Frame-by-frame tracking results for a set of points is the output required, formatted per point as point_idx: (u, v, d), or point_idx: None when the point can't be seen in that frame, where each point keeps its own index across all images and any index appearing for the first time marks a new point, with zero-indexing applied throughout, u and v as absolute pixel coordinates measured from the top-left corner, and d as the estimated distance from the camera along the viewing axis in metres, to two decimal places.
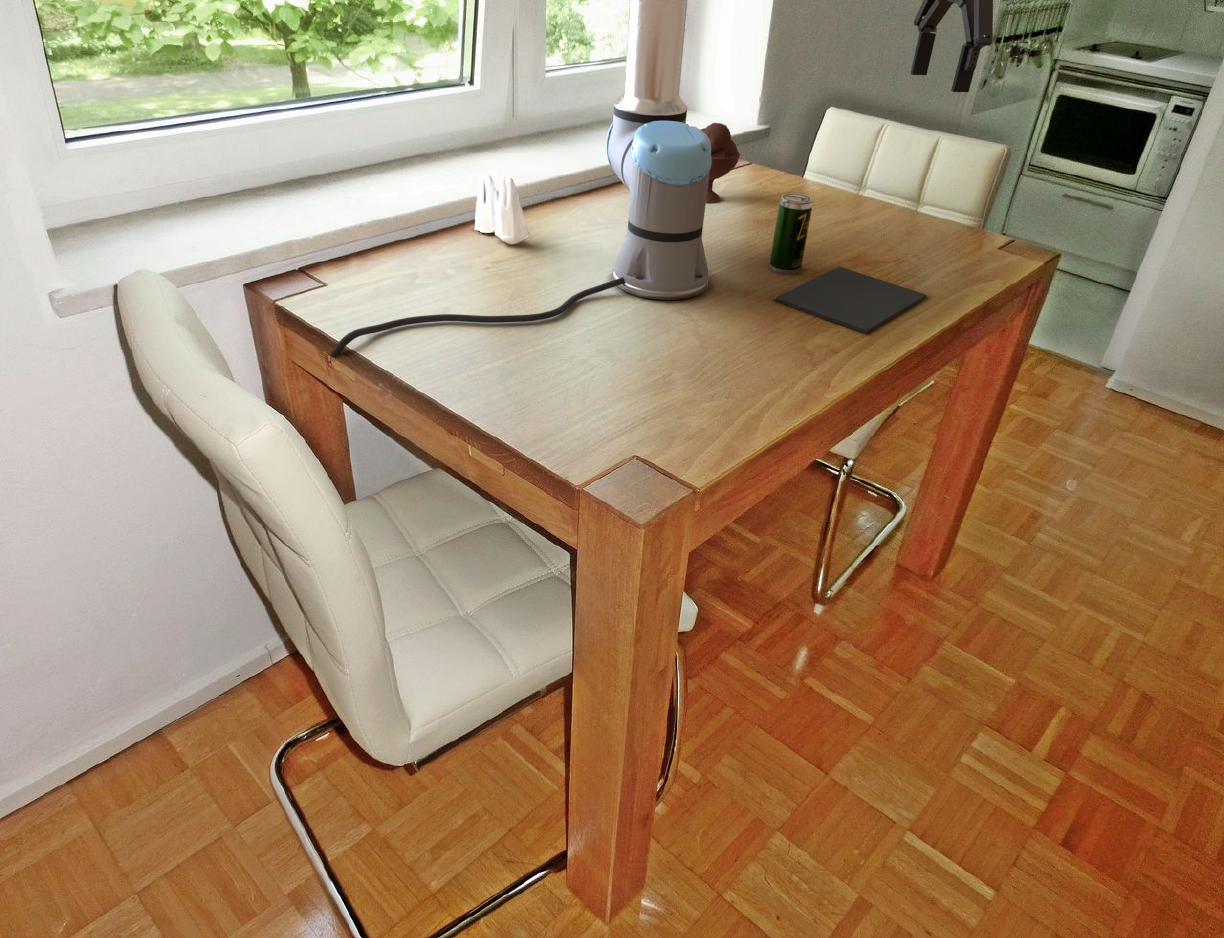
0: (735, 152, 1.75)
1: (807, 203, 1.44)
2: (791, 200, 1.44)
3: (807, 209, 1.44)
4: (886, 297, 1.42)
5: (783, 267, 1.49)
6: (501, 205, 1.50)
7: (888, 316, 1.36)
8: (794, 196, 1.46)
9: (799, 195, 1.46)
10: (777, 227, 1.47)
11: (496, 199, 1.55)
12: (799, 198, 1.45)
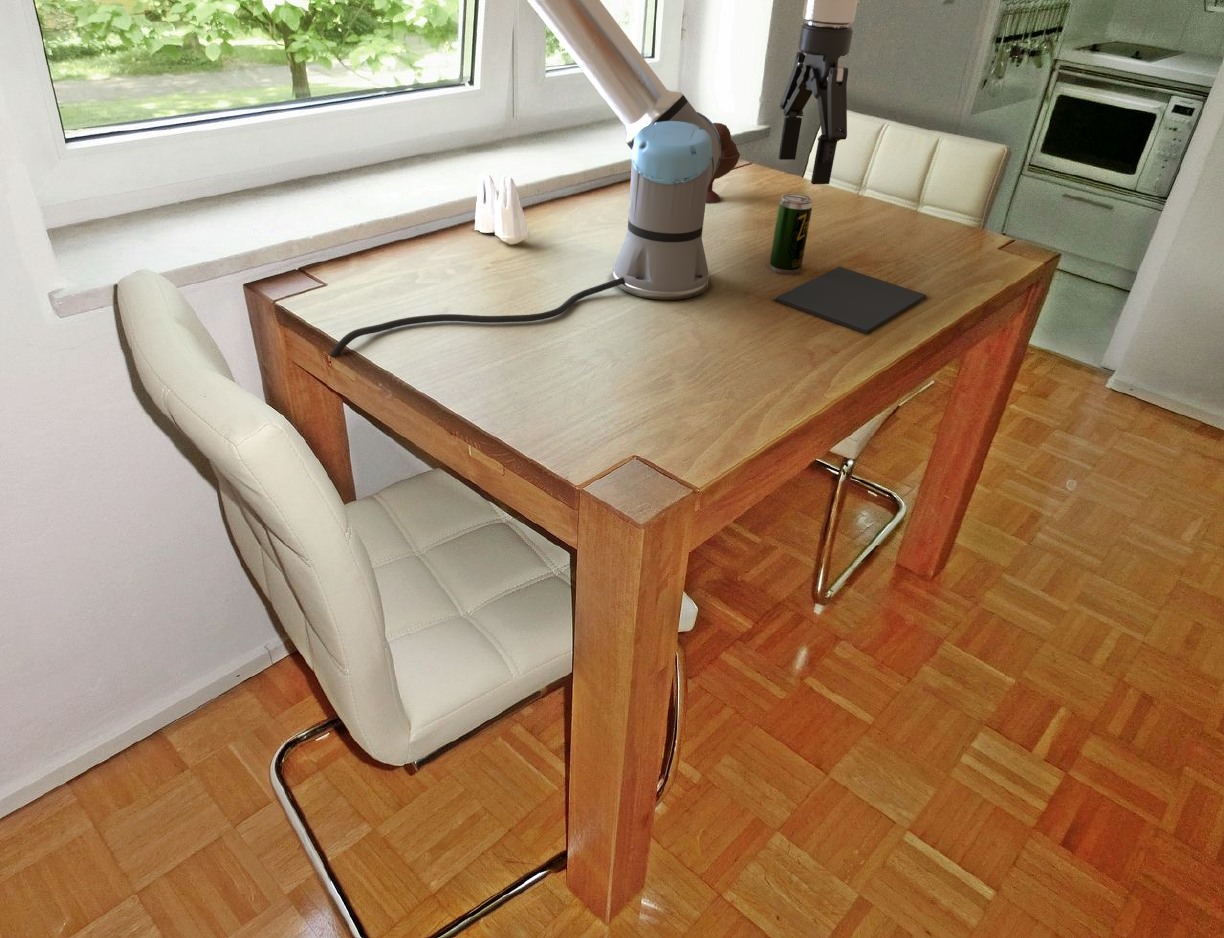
0: (735, 152, 1.75)
1: (807, 203, 1.44)
2: (791, 200, 1.44)
3: (807, 209, 1.44)
4: (886, 297, 1.42)
5: (783, 267, 1.49)
6: (501, 205, 1.50)
7: (888, 316, 1.36)
8: (794, 196, 1.46)
9: (799, 195, 1.46)
10: (777, 227, 1.47)
11: (496, 199, 1.55)
12: (799, 198, 1.45)
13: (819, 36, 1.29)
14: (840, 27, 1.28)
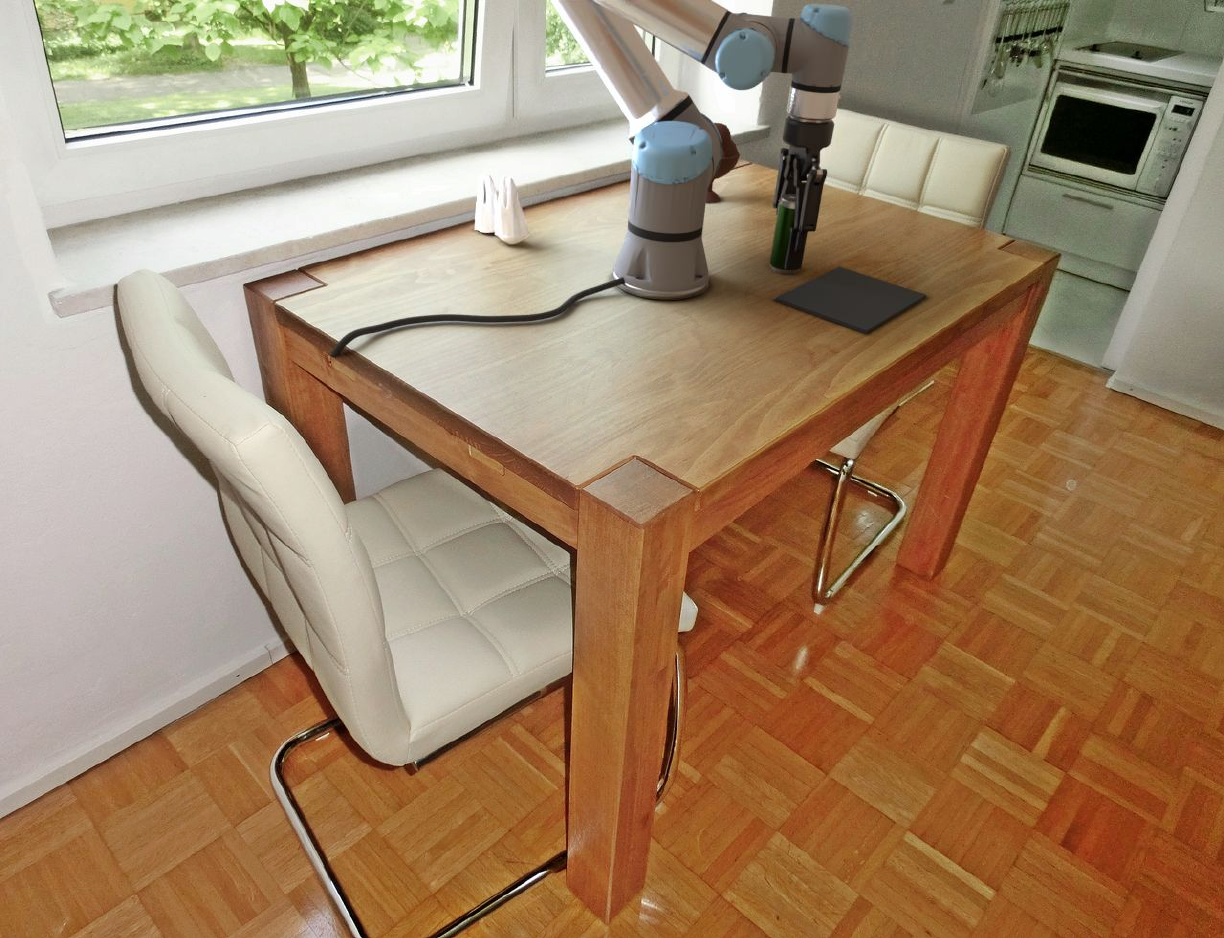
0: (735, 152, 1.75)
1: None
2: (791, 200, 1.44)
3: None
4: (886, 297, 1.42)
5: (783, 267, 1.49)
6: (501, 205, 1.50)
7: (888, 316, 1.36)
8: (794, 196, 1.46)
9: None
10: (777, 227, 1.47)
11: (496, 199, 1.55)
12: None
13: (802, 131, 1.36)
14: (822, 122, 1.36)
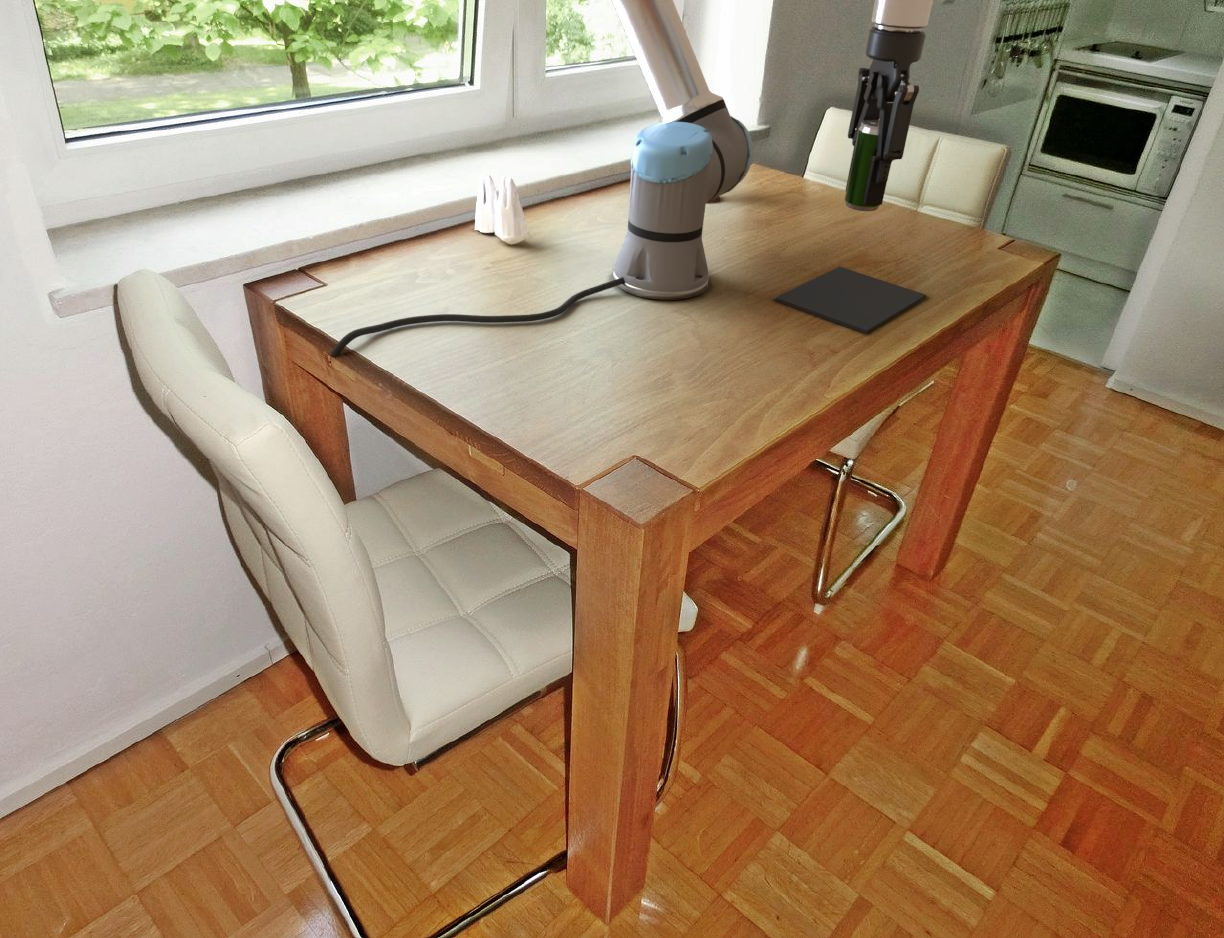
0: None
1: None
2: (873, 125, 1.27)
3: None
4: (886, 297, 1.42)
5: (861, 203, 1.33)
6: (501, 205, 1.50)
7: (888, 316, 1.36)
8: (875, 122, 1.29)
9: None
10: (856, 157, 1.31)
11: (496, 199, 1.55)
12: None
13: (890, 41, 1.20)
14: (913, 31, 1.19)
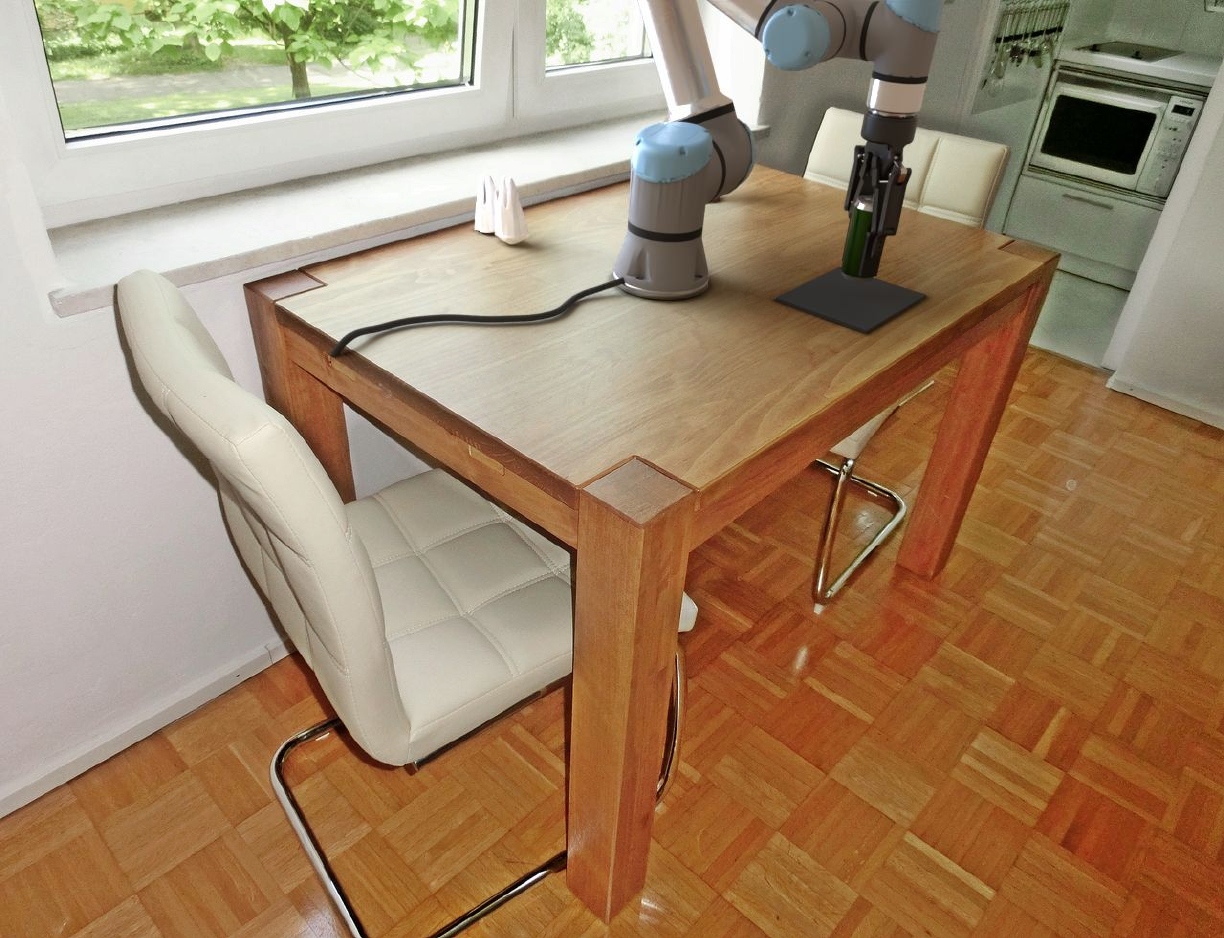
0: None
1: None
2: (868, 202, 1.32)
3: None
4: (886, 297, 1.42)
5: (857, 275, 1.37)
6: (501, 205, 1.50)
7: (888, 316, 1.36)
8: (870, 198, 1.34)
9: None
10: (851, 231, 1.35)
11: (496, 199, 1.55)
12: None
13: (884, 126, 1.24)
14: (906, 116, 1.24)
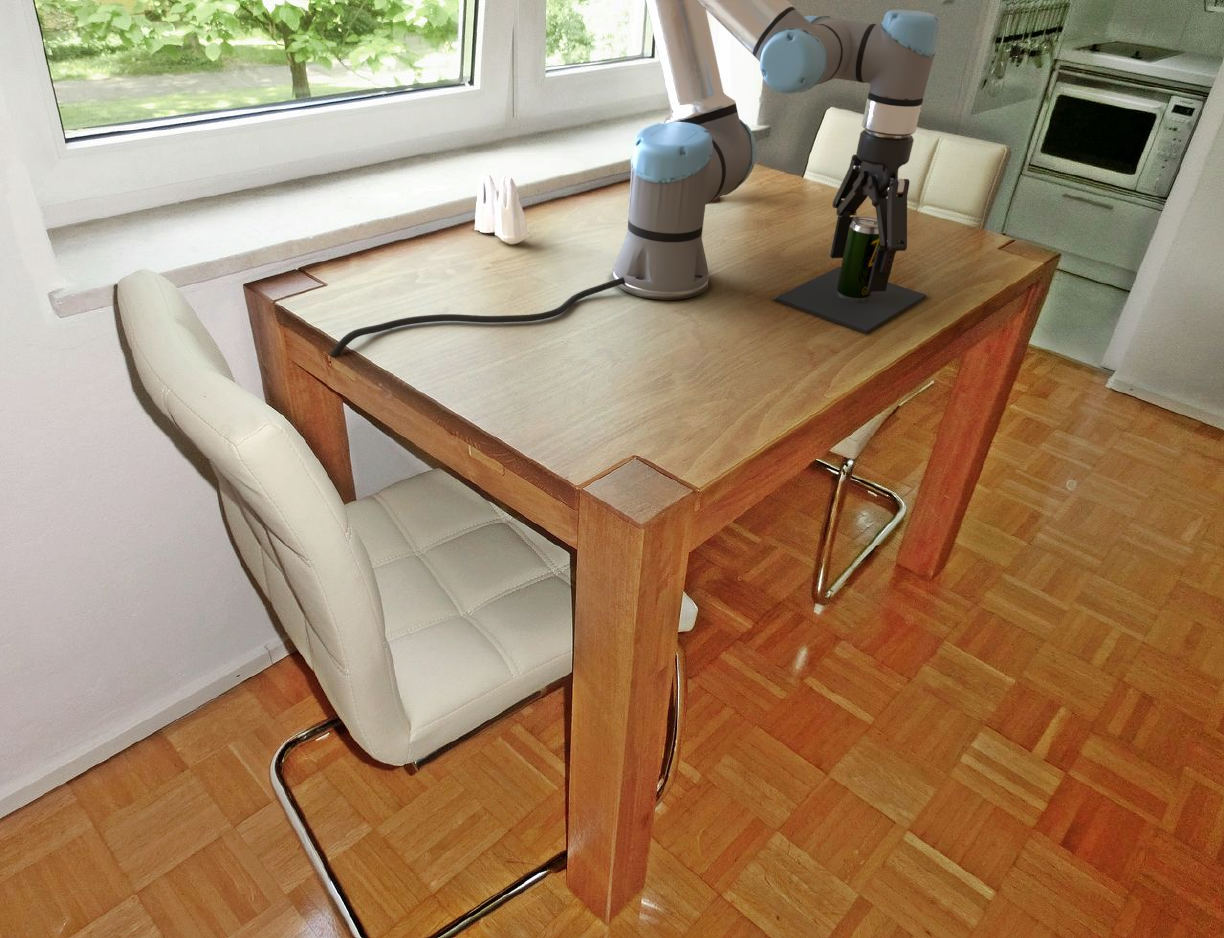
0: None
1: None
2: (863, 224, 1.34)
3: None
4: (886, 297, 1.42)
5: (852, 295, 1.39)
6: (501, 205, 1.50)
7: (888, 316, 1.36)
8: (866, 219, 1.36)
9: (871, 218, 1.36)
10: (847, 252, 1.37)
11: (496, 199, 1.55)
12: (871, 221, 1.35)
13: (880, 147, 1.26)
14: (901, 138, 1.25)
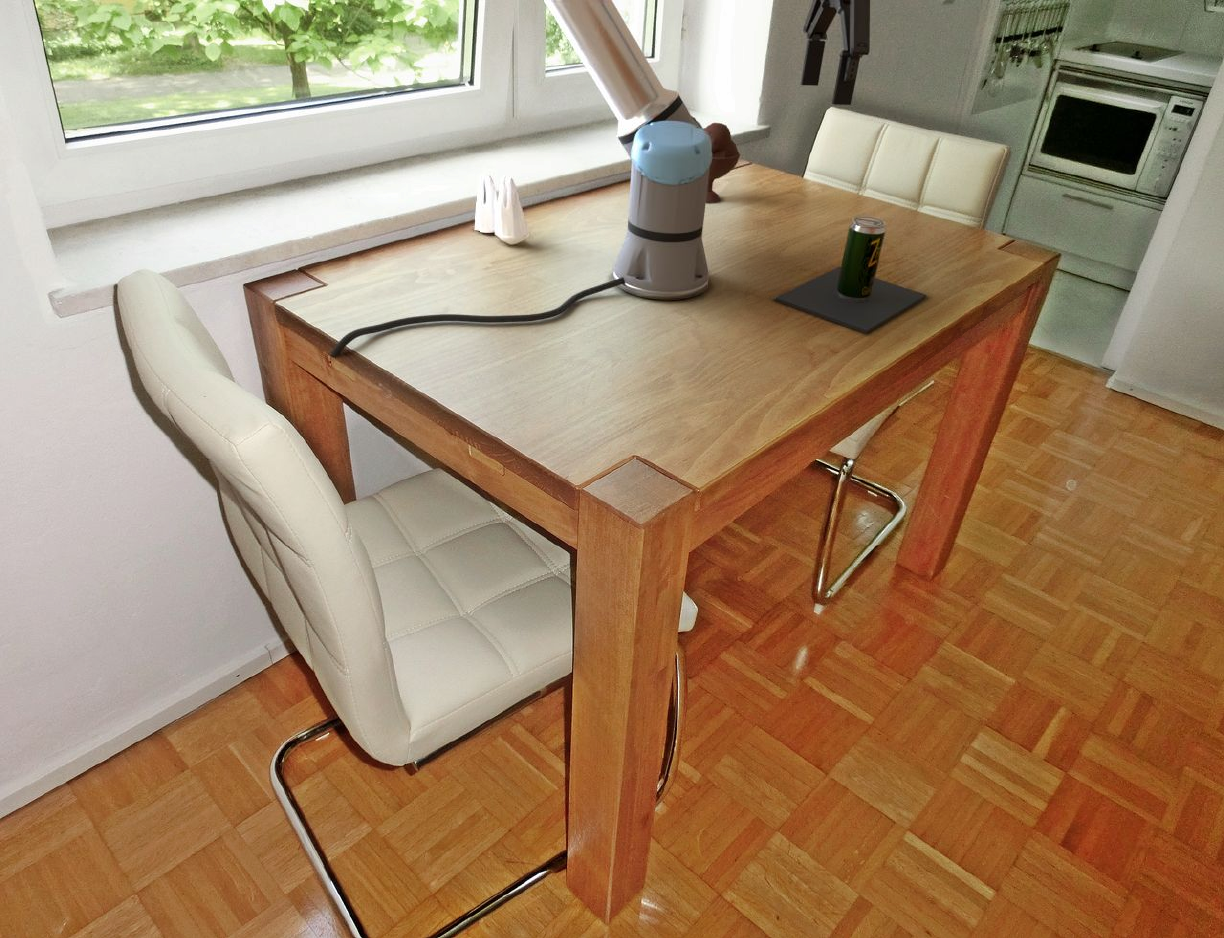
0: (735, 152, 1.75)
1: (881, 227, 1.34)
2: (863, 224, 1.34)
3: (881, 233, 1.34)
4: (886, 297, 1.42)
5: (852, 295, 1.39)
6: (501, 205, 1.50)
7: (888, 316, 1.36)
8: (866, 219, 1.36)
9: (871, 218, 1.36)
10: (847, 252, 1.37)
11: (496, 199, 1.55)
12: (871, 221, 1.35)
13: None
14: None
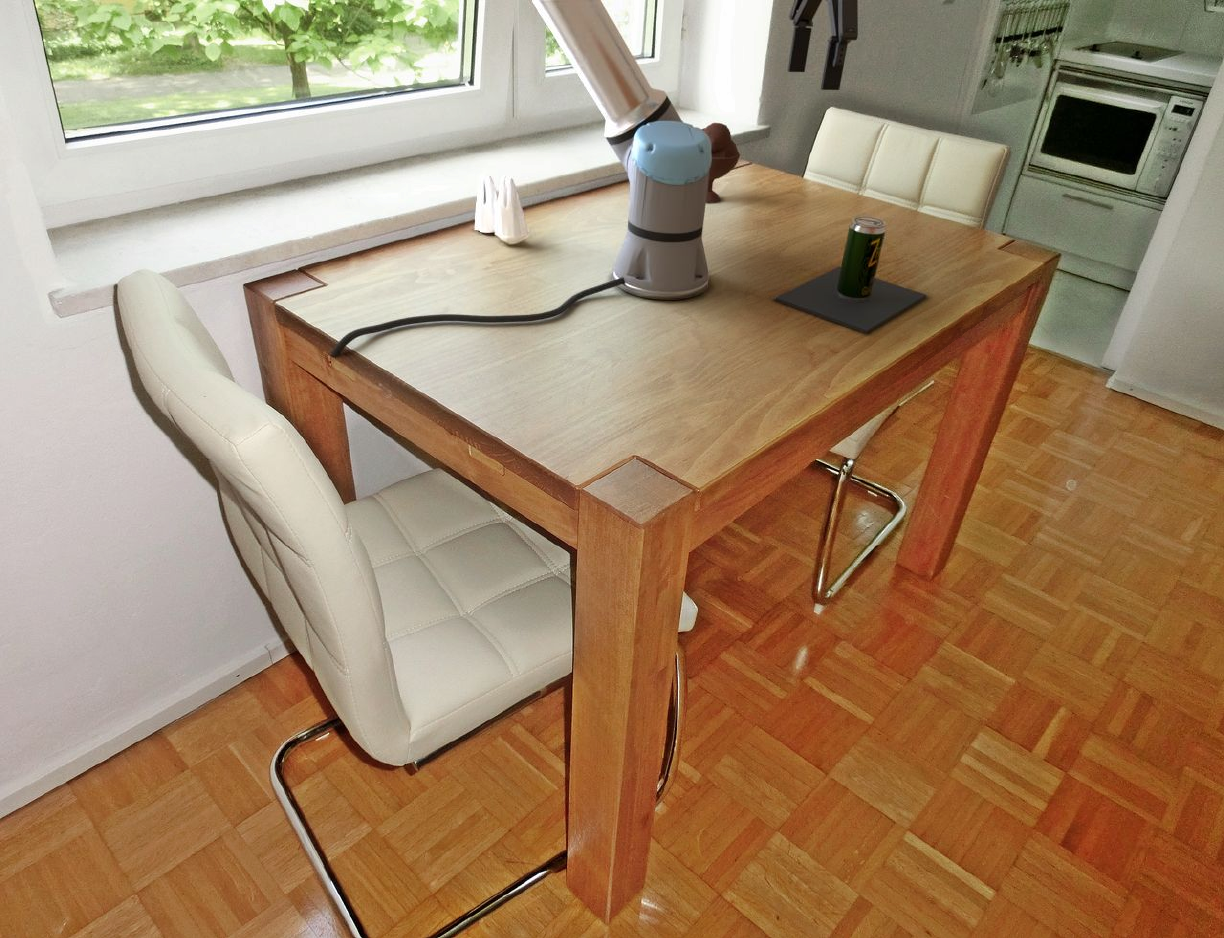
0: (735, 152, 1.75)
1: (881, 227, 1.34)
2: (863, 224, 1.34)
3: (881, 233, 1.34)
4: (886, 297, 1.42)
5: (852, 295, 1.39)
6: (501, 205, 1.50)
7: (888, 316, 1.36)
8: (866, 219, 1.36)
9: (871, 218, 1.36)
10: (847, 252, 1.37)
11: (496, 199, 1.55)
12: (871, 222, 1.35)
13: None
14: None
